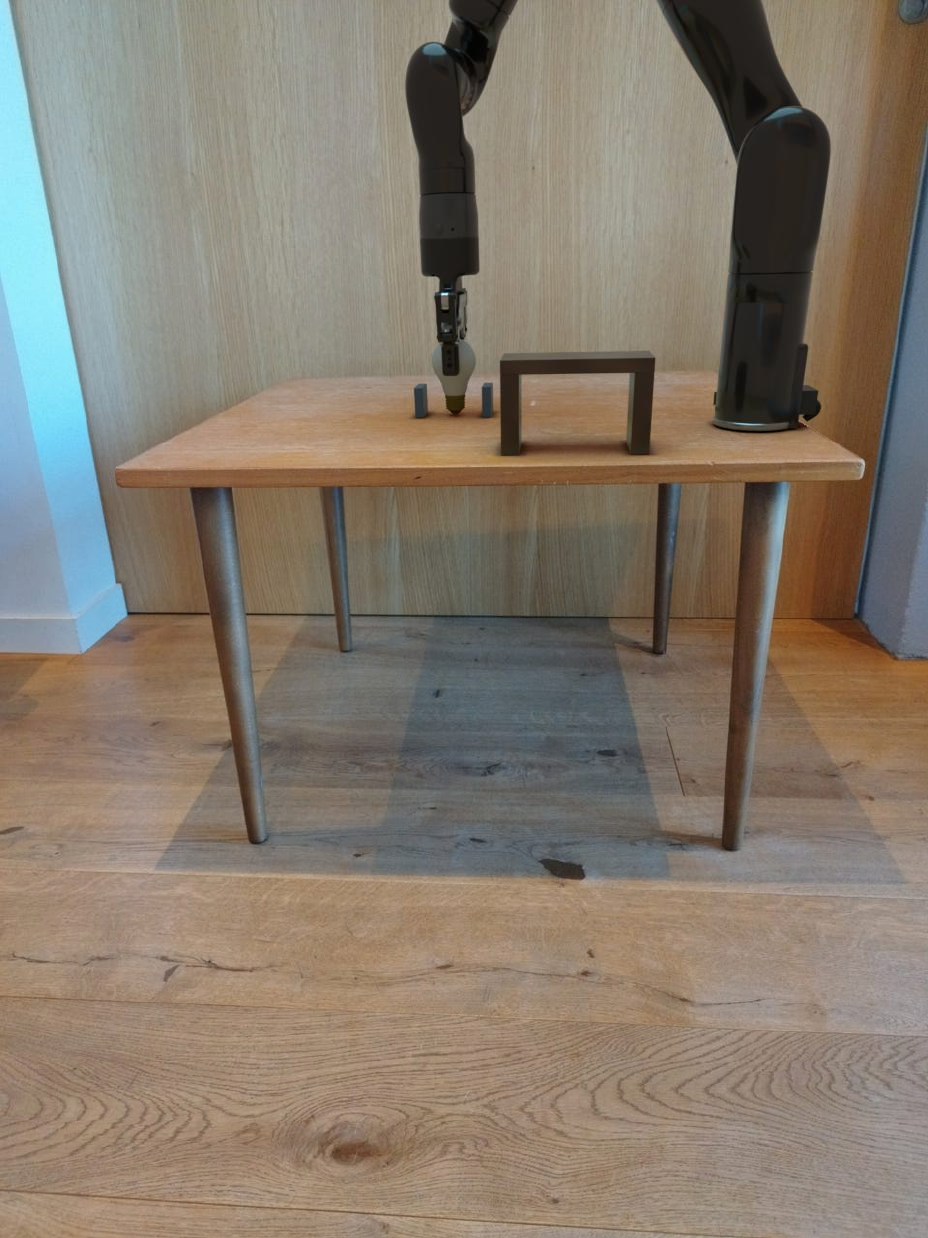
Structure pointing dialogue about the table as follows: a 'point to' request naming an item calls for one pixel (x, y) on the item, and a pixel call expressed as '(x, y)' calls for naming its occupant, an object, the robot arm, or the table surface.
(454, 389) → the light bulb
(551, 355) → the dark brown rectangular arch
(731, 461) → the table surface
